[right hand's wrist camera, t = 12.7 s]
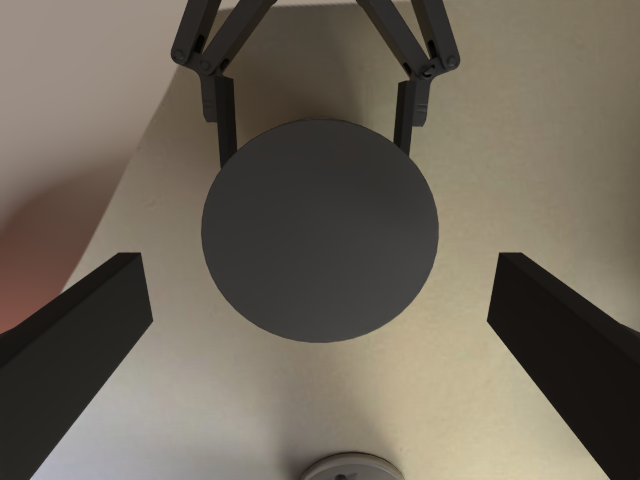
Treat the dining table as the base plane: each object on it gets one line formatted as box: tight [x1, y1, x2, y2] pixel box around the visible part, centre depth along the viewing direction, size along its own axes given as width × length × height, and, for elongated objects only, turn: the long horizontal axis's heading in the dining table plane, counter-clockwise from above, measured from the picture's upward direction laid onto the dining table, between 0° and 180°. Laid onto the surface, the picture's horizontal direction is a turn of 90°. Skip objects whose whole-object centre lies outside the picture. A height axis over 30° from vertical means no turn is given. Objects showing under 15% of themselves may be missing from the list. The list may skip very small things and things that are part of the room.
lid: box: [201, 118, 439, 343], centre depth 18 cm, size 11×11×2 cm
